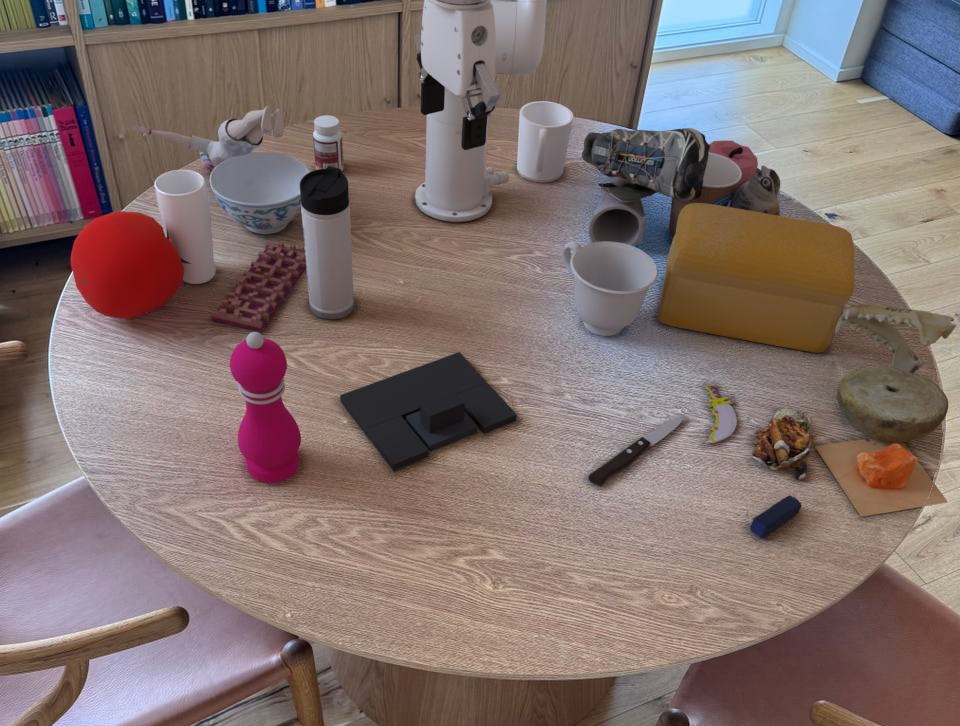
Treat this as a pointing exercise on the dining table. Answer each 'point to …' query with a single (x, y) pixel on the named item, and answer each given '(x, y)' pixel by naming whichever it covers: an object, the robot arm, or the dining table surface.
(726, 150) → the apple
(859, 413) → the weight
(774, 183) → the figurine
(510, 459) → the dining table surface
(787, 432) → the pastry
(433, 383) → the black u-shaped block
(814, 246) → the bread
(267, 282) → the chocolate bar
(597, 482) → the kitchen knife
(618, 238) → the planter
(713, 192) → the coffee cup
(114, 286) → the tomato
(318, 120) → the pill bottle
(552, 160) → the mug
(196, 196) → the drinking glass
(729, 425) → the decorative knife
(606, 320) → the teacup
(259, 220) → the chinaware
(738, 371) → the dining table surface
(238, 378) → the pepper mill
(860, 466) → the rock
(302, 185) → the travel mug
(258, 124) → the figurine
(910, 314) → the jawbone
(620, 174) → the running shoe
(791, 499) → the eraser
